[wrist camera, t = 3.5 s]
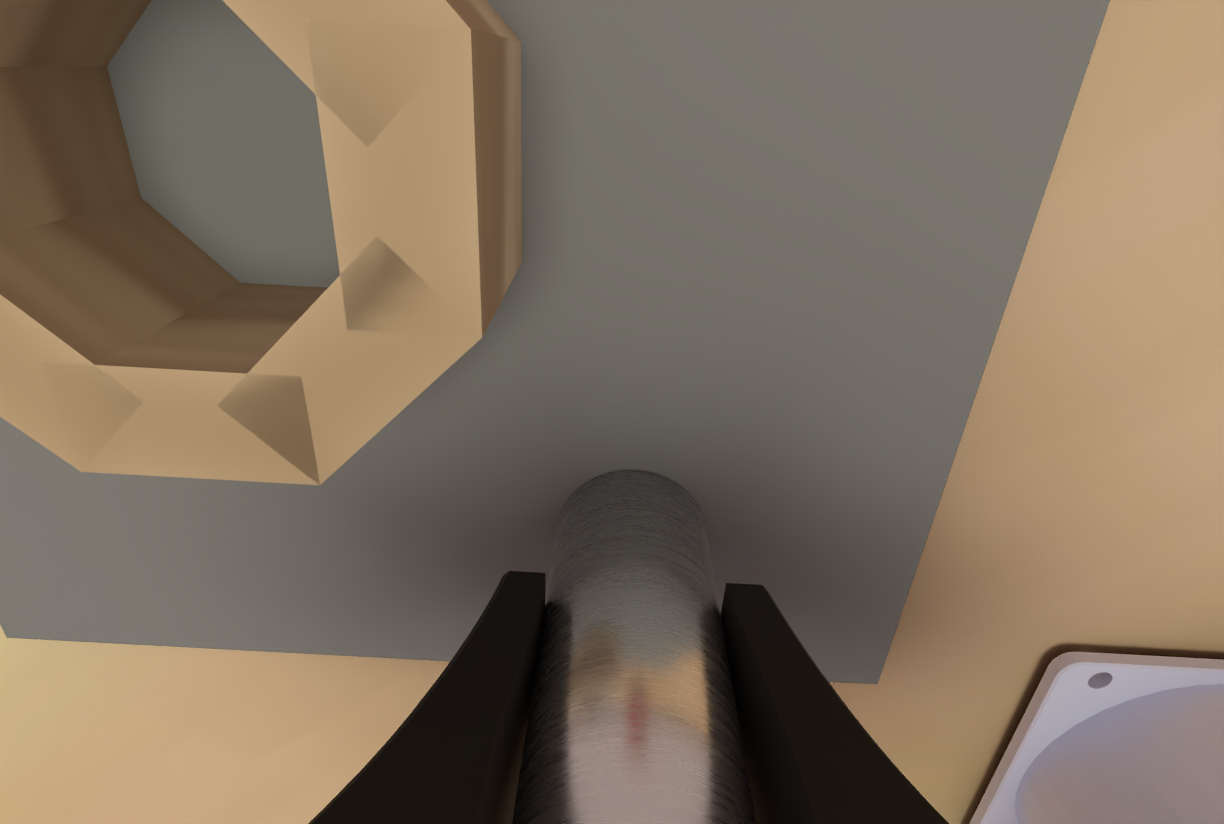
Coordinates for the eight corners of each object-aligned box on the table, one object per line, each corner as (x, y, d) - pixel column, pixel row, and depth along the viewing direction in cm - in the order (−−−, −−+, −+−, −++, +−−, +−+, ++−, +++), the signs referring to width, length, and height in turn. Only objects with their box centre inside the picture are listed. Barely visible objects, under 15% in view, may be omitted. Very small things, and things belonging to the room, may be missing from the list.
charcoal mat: (1191, -328, 8) (1230, -355, 8) (868, 663, 16) (877, 683, 15) (-466, -440, 8) (-546, -477, 7) (28, 618, 16) (7, 637, 15)
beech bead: (519, -162, 9) (458, -288, 5) (523, 384, 12) (487, 495, 9) (-88, -201, 8) (-499, -352, 5) (95, 359, 12) (-90, 462, 9)
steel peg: (714, 475, 13) (822, 986, 6) (696, 594, 14) (766, 1124, 7) (557, 466, 13) (472, 968, 6) (555, 587, 14) (484, 1110, 7)
